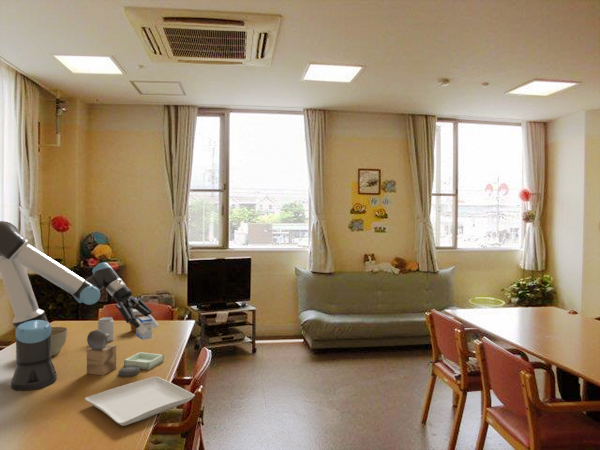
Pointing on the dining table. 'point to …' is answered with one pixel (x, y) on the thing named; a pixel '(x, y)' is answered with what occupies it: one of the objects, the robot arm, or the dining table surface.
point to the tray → (144, 360)
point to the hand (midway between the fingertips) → (150, 329)
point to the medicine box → (147, 324)
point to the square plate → (139, 400)
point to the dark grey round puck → (129, 371)
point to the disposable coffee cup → (135, 319)
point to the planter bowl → (58, 339)
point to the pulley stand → (100, 353)
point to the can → (107, 327)
